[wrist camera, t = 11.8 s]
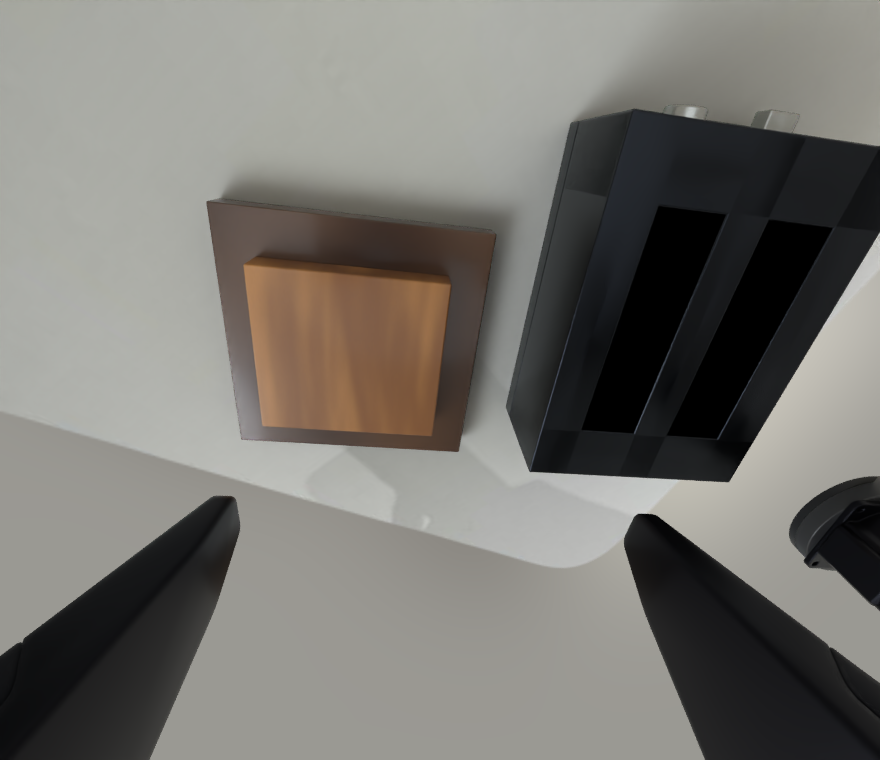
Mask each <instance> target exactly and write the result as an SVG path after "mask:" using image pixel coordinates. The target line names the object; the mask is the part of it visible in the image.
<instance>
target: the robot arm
mask: <svg viewBox="0 0 880 760" xmlns="http://www.w3.org/2000/svg"><path fill="white" fill-rule="evenodd" d="M239 531H240V520H239V514H238V509H237V502H236V499H235V498H234V497H232V496H213V497H211V498H210V499H209V500H207V501H206V502H204V503H203V504H202V505H200V506H199V507H198V508H196V509H195V510H194V511H192V512H191V513H190V514H188V515H187V516H186V517H184V518H183V519H182V520H180V521H179V522H178V523H177V524H175V525H174V526H172V527H171V528H170V529H169V530H167V531H166V532H165V533H163V534H162V535H161V536H159V537H158V538H157V539H155V540H154V541H153V542H151V543H150V544H149V545H147V546H146V547H145V548H143V549H142V550H141V551H139V552H138V553H137V554H135V555H134V556H133V557H131V558H130V559H129V560H128V561H126V562H125V563H123V564H122V565H121V566H119V567H118V568H117V569H115V570H114V571H113V572H112V573H110V574H109V575H108V576H106V577H105V578H104V579H102V580H101V581H100V582H98V583H97V584H96V585H94V586H93V587H92V588H90V589H89V590H88V591H86V592H85V593H84V594H82V595H81V596H80V597H78V598H77V599H76V600H74V601H73V602H72V603H70V604H69V605H68V606H66V607H65V608H64V609H62V610H61V611H60V612H59V613H57V614H56V615H54V616H53V617H52V618H50V619H49V620H48V621H46V622H45V623H44V624H42V625H41V626H40V627H38V628H37V629H36V630H34V631H33V632H32V633H30V634H29V635H28V636H27V637H25V638H24V640H23V643H21V642H20V643H17V644H16V645H14V646H13V647H12V648H10V649H9V650H8V651H6V652H5V653H4V654H2V655H1V656H0V760H149V759H150V757H151V755H152V753H153V750H154V748H155V746H156V743H157V741H158V739H159V737H160V734H161V732H162V730H163V727H164V725H165V723H166V720H167V718H168V716H169V714H170V711H171V709H172V707H173V704H174V702H175V700H176V698H177V695H178V693H179V691H180V688H181V686H182V684H183V681H184V679H185V677H186V675H187V672H188V670H189V668H190V665H191V663H192V661H193V659H194V656H195V654H196V652H197V649H198V647H199V645H200V642H201V640H202V638H203V636H204V633H205V631H206V628H207V626H208V624H209V622H210V620H211V617H212V615H213V612H214V610H215V607H216V604H217V601H218V599H219V596H220V592H221V589H222V586H223V583H224V580H225V576H226V573H227V570H228V567H229V564H230V561H231V558H232V555H233V551H234V548H235V545H236V542H237V538H238V535H239ZM624 547H625V550H626V554H627V557H628V561H629V564H630V567H631V570H632V574H633V577H634V580H635V583H636V587H637V589H638V593H639V596H640V599H641V603H642V606H643V608H644V612H645V615H646V617H647V620H648V622H649V625H650V627H651V630H652V632H653V634H654V637H655V639H656V642H657V644H658V647H659V649H660V652H661V654H662V656H663V659H664V661H665V663H666V666H667V668H668V671H669V673H670V676H671V678H672V681H673V683H674V686H675V688H676V690H677V693H678V695H679V698H680V700H681V703H682V705H683V707H684V710H685V712H686V715H687V717H688V719H689V722H690V724H691V727H692V729H693V732H694V734H695V736H696V739H697V741H698V744H699V746H700V748H701V751H702V753H703V756H704V758H705V760H880V683H879V682H878V681H876V680H875V679H873V678H872V677H871V676H869V675H868V674H867V673H865V672H864V671H863V670H861V669H860V668H858V667H857V666H856V665H854V664H853V663H852V662H850V661H849V660H848V659H846V658H845V657H844V656H843V655H841V654H840V653H839V652H837V651H836V650H834V649H833V648H829V646H828V645H827V644H826V643H825V642H824V641H822V640H821V639H820V638H819V637H817V636H816V635H815V634H813V633H812V632H811V631H809V630H808V629H807V628H805V627H804V626H802V625H801V624H800V623H799V622H797V621H796V620H795V619H793V618H792V617H791V616H789V615H788V614H787V613H785V612H784V611H783V610H781V609H780V608H779V607H777V606H776V605H775V604H773V603H772V602H771V601H769V600H768V599H767V598H765V597H764V596H763V595H761V594H760V593H759V592H757V591H756V590H755V589H753V588H752V587H751V586H749V585H748V584H746V583H745V582H744V581H743V580H741V579H740V578H739V577H738V576H736V575H735V574H733V573H732V572H731V571H730V570H728V569H727V568H726V567H724V566H723V565H722V564H720V563H719V562H718V561H716V560H715V559H714V558H712V557H711V556H710V555H708V554H707V553H706V552H704V551H703V550H701V549H700V548H699V547H698V546H696V545H695V544H694V543H692V542H691V541H690V540H688V539H687V538H686V537H684V536H683V535H682V534H680V533H679V532H678V531H676V530H675V529H674V528H672V527H671V526H670V525H668V524H667V523H666V522H664V521H663V520H662V519H660V518H659V517H658V516H656V515H653V514H637V515H636V516H635V517H634V519H633V521H632V523H631V525H630V527H629V529H628V531H627V533H626V535H625V538H624ZM804 563H805V564H806V565H807V566H808V567H809V568H827V569H835V570H836V571H837V572H838V573H839V574H840V575H841V576H842V577H843V578H844V579H845V580H846V581H847V582H848V583H849V584H850V585H851V586H852V587H853V588H854V589H855V590H857V592H858V593H859V594H860V595H861V596H863V597H864V598H865V599H866V600H867V601H868V602H869V603H870V604H871V605H873V606H875V607H876V608H877V609H878V610H879V611H880V501H869V500H856V501H853V502H852V503H850V504H849V505H848V506H847V508H846V509H845V510H844V511H843V513H842V514H841V515H840V516H839V517H838V519H837V520H836V521H835V522H834V524H833V525H832V526H831V527H830V528H829V530H828V531H827V532H826V533H825V535H824V536H823V537H822V538H821V539H820V541H819V542H818V543H817V544H816V545H815V547H814V548H813V549H812V550H811V552H810V553H809V554H808V555H807V556H806V558H805V559H804Z"/></svg>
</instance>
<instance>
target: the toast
mask: <svg viewBox="0 0 880 760" xmlns="http://www.w3.org/2000/svg"><path fill="white" fill-rule="evenodd" d="M243 266H244V274H245V283H246V291H247V300H248V309H249V317H250V326H251V334H252V343H253V351H254V360H255V368H256V377H257V385H258V394H259V402H260V411H261V419H262V426H268V427H285V428H302V429H318V430H335V431H352V432H369V433H386V434H403V435H420V436H432V435H433V428H434V420H435V412H436V404H437V396H438V389H439V381H440V373H441V365H442V358H443V350H444V342H445V334H446V327H447V319H448V311H449V303H450V295H451V288H452V285H451V281H450V278H449V276H443V275H433V274H423V273H413V272H403V271H393V270H383V269H373V268H363V267H353V266H343V265H333V264H323V263H313V262H303V261H293V260H283V259H273V258H263V257H254V258H252V259H251V260H249V261H248V262H246V263H244V265H243Z"/></svg>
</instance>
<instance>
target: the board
mask: <svg viewBox="0 0 880 760" xmlns="http://www.w3.org/2000/svg"><path fill="white" fill-rule="evenodd" d="M207 209H208V216H209V223H210V230H211V236H212V243H213V250H214V257H215V263H216V270H217V277H218V284H219V291H220V297H221V304H222V311H223V318H224V325H225V331H226V338H227V345H228V352H229V358H230V365H231V372H232V379H233V386H234V392H235V399H236V406H237V413H238V419H239V426H240V433H241V439H242V440H260V441H277V442H295V443H312V444H330V445H347V446H365V447H383V448H400V449H418V450H435V451H453V452H458V451H459V447H460V441H461V435H462V430H463V424H464V418H465V412H466V407H467V401H468V395H469V389H470V384H471V378H472V372H473V366H474V361H475V355H476V349H477V343H478V337H479V332H480V326H481V320H482V314H483V309H484V303H485V297H486V291H487V286H488V280H489V274H490V268H491V263H492V257H493V251H494V245H495V240H496V234H495V233H494V232H493V231H492V230H487V229H479V228H470V227H461V226H453V225H444V224H435V223H427V222H418V221H409V220H401V219H392V218H383V217H375V216H366V215H357V214H349V213H340V212H331V211H323V210H314V209H305V208H297V207H288V206H279V205H271V204H262V203H253V202H245V201H236V200H227V199H215V200H210V201H207ZM254 257H263V258H273V259H283V260H293V261H303V262H313V263H323V264H333V265H343V266H353V267H363V268H373V269H383V270H393V271H403V272H413V273H423V274H433V275H443V276H449V278H450V281H451V285H452V288H451V295H450V303H449V311H448V319H447V327H446V334H445V342H444V350H443V358H442V365H441V373H440V381H439V389H438V396H437V404H436V412H435V420H434V428H433V435H432V436H420V435H403V434H386V433H369V432H352V431H335V430H318V429H302V428H285V427H268V426H262V419H261V411H260V402H259V394H258V385H257V377H256V368H255V360H254V351H253V343H252V334H251V326H250V317H249V309H248V300H247V291H246V283H245V274H244V266H243V265H244V263H246V262H248V261H249V260H251V259H252V258H254Z"/></svg>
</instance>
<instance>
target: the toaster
mask: <svg viewBox="0 0 880 760" xmlns="http://www.w3.org/2000/svg"><path fill="white" fill-rule="evenodd" d="M707 113H708V109H707V108H705V107H701V106H696V105H682V104H677V105H669V106H666V107H665V108H664V111H663V113H659V112H652V111H645V110H639V109H632V110H627V111H622V112H618V113H613V114H609V115H604V116H600V117H595V118H591V119H586V120H582V121H577V122H572V123H571V124H570V128H569V133H568V137H567V142H566V146H565V150H564V155H563V159H562V163H561V168H560V172H559V177H558V181H557V185H556V190H555V194H554V198H553V203H552V207H551V212H550V216H549V220H548V225H547V229H546V233H545V238H544V242H543V247H542V251H541V255H540V260H539V264H538V268H537V273H536V277H535V282H534V286H533V290H532V295H531V299H530V303H529V308H528V312H527V317H526V321H525V325H524V330H523V334H522V338H521V343H520V347H519V352H518V356H517V360H516V365H515V369H514V373H513V378H512V382H511V387H510V391H509V395H508V400H507V404H506V409H507V412H508V415H509V417H510V420H511V423H512V425H513V428H514V431H515V434H516V436H517V439H518V442H519V445H520V447H521V450H522V453H523V456H524V458H525V461H526V464H527V467H528V469H529V471H530V472H544V473H563V474H583V475H602V476H621V477H640V478H659V479H678V480H696V481H714V482H715V481H716V482H729V481H730V480H731V478H732V476H733V475H734V473H735V471H736V470H737V468H738V466H739V465H740V463H741V461H742V459H743V458H744V456H745V454H746V453H747V451H748V450H749V448H750V446H751V445H752V443H753V441H754V440H755V438H756V436H757V435H758V433H759V431H760V430H761V428H762V427H763V425H764V423H765V422H766V420H767V418H768V417H769V415H770V413H771V412H772V410H773V408H774V407H775V405H776V403H777V402H778V400H779V398H780V397H781V395H782V393H783V392H784V390H785V388H786V387H787V385H788V383H789V382H790V380H791V378H792V377H793V375H794V374H795V372H796V370H797V369H798V367H799V365H800V364H801V362H802V360H803V359H804V357H805V355H806V354H807V352H808V350H809V349H810V347H811V345H812V344H813V342H814V340H815V339H816V337H817V335H818V334H819V332H820V330H821V329H822V327H823V325H824V324H825V322H826V321H827V319H828V317H829V316H830V314H831V312H832V311H833V309H834V307H835V306H836V304H837V302H838V301H839V299H840V297H841V296H842V294H843V292H844V291H845V289H846V287H847V286H848V284H849V282H850V281H851V279H852V277H853V276H854V274H855V272H856V271H857V269H858V268H859V266H860V264H861V263H862V261H863V259H864V258H865V256H866V254H867V253H868V251H869V249H870V248H871V246H872V244H873V243H874V241H875V239H876V238H877V236H878V234H879V233H880V146H874V145H867V144H860V143H854V142H847V141H841V140H834V139H828V138H821V137H815V136H808V135H802V134H795V133H792V132H793V130H794V128H795V126H796V123H797V121H798V119H799V117H800V115H799V114H795V113H789V112H783V111H776V110H767V111H760V112H757V113H756V114H755V117H754V119H753V121H752V124H751V126H750V127H749V126H742V125H736V124H729V123H723V122H716V121H710V120H705V119H706V116H707Z"/></svg>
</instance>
